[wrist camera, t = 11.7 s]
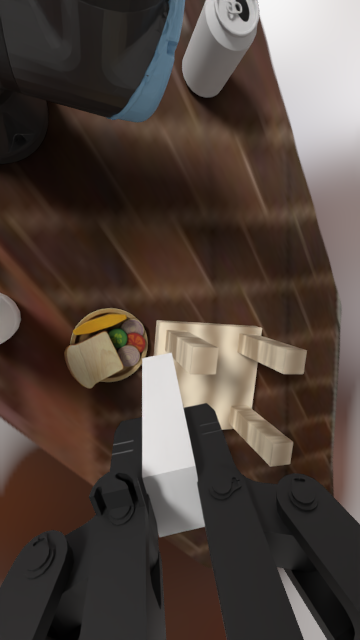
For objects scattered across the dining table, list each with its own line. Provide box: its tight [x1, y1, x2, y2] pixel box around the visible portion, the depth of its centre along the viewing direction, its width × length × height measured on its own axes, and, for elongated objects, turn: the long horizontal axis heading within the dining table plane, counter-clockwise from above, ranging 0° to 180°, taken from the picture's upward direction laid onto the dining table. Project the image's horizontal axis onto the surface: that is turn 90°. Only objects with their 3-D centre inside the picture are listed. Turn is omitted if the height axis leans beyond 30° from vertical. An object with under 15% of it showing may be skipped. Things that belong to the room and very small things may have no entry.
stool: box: [154, 320, 307, 467], centre depth 44 cm, size 20×20×16 cm
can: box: [182, 0, 259, 98], centre depth 39 cm, size 8×8×12 cm
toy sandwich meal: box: [64, 308, 148, 389], centre depth 43 cm, size 12×14×5 cm
